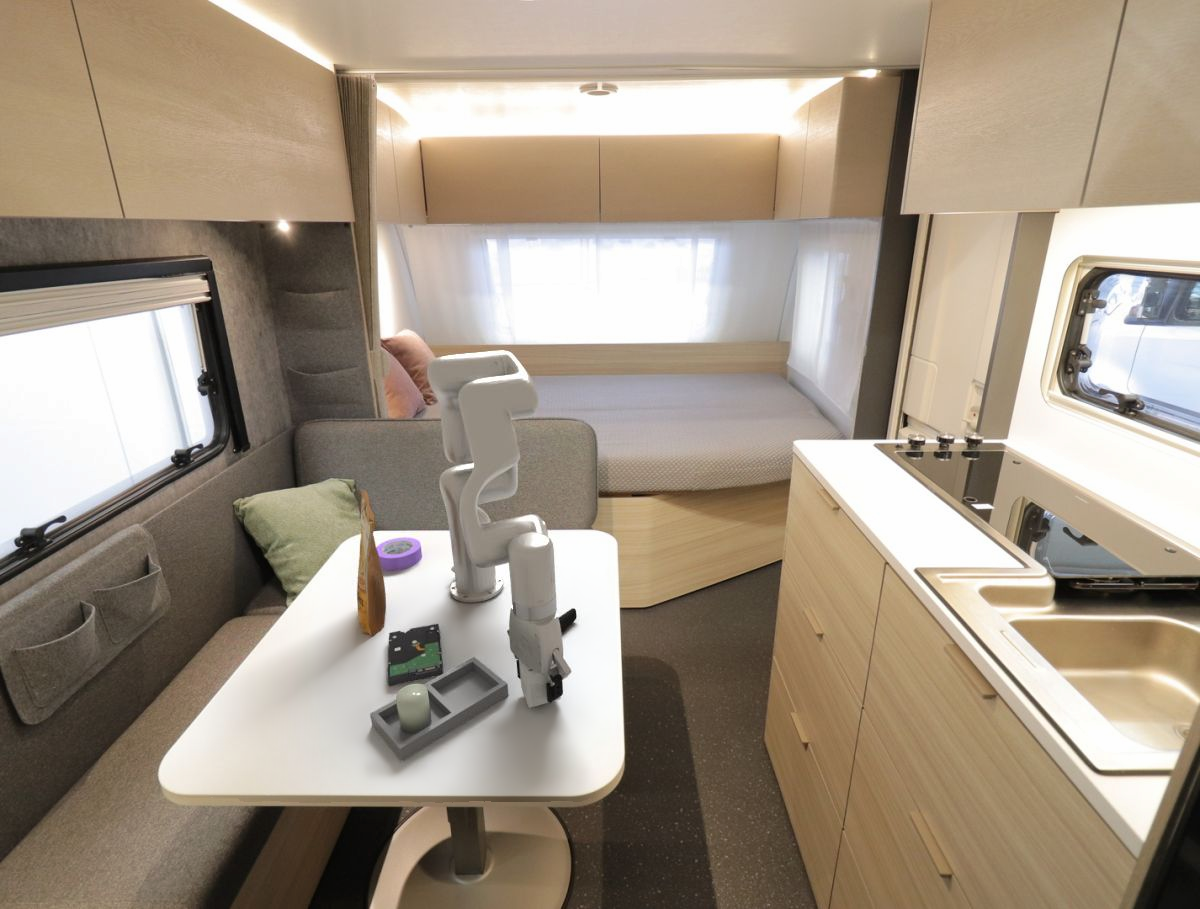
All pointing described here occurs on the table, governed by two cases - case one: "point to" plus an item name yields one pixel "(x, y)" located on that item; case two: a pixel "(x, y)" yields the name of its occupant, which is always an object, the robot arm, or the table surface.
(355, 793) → the table surface
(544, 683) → the white box
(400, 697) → the sage jar
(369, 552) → the pancake mix bag
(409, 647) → the disk drive
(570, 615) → the electric trimmer
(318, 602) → the table surface
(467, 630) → the table surface
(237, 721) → the table surface
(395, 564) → the masking tape
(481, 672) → the caddy
